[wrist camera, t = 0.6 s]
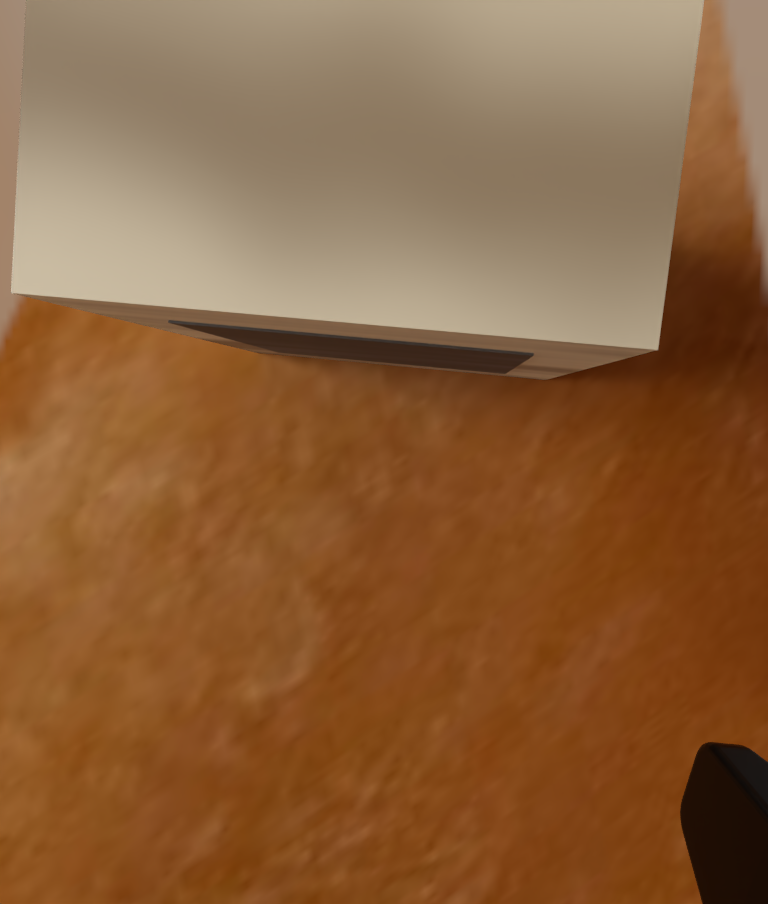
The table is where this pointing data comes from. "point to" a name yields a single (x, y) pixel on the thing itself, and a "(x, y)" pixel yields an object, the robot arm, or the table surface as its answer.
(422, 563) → the table surface
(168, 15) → the birch block
